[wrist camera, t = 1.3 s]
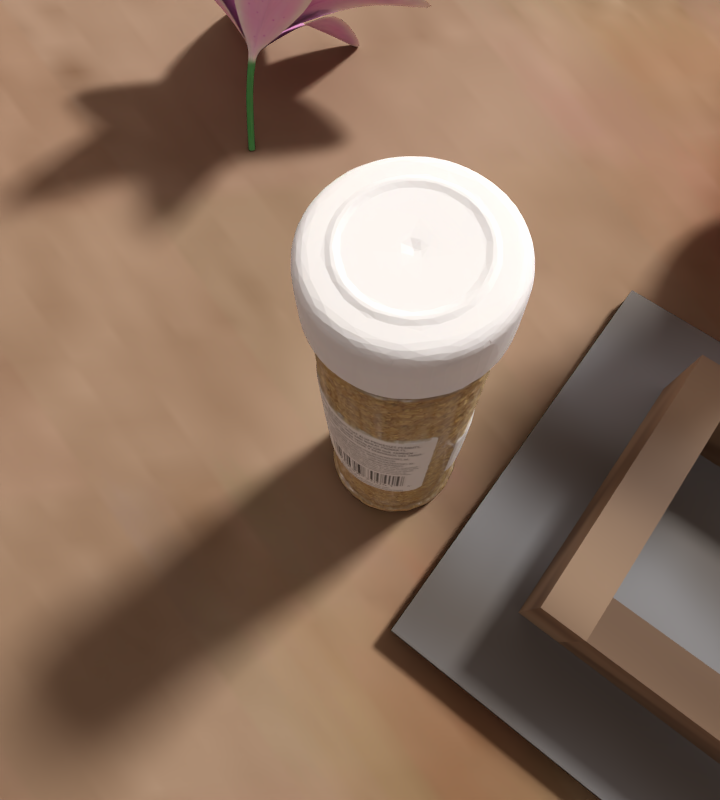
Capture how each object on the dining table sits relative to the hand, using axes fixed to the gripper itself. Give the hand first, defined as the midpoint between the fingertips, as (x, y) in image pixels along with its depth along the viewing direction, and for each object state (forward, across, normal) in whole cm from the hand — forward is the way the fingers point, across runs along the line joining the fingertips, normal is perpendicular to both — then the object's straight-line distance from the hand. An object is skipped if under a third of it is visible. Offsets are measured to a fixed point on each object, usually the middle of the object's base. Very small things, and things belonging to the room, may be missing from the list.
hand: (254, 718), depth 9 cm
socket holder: (+14, -12, +5) cm, 19 cm away
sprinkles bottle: (+15, 0, +4) cm, 16 cm away
